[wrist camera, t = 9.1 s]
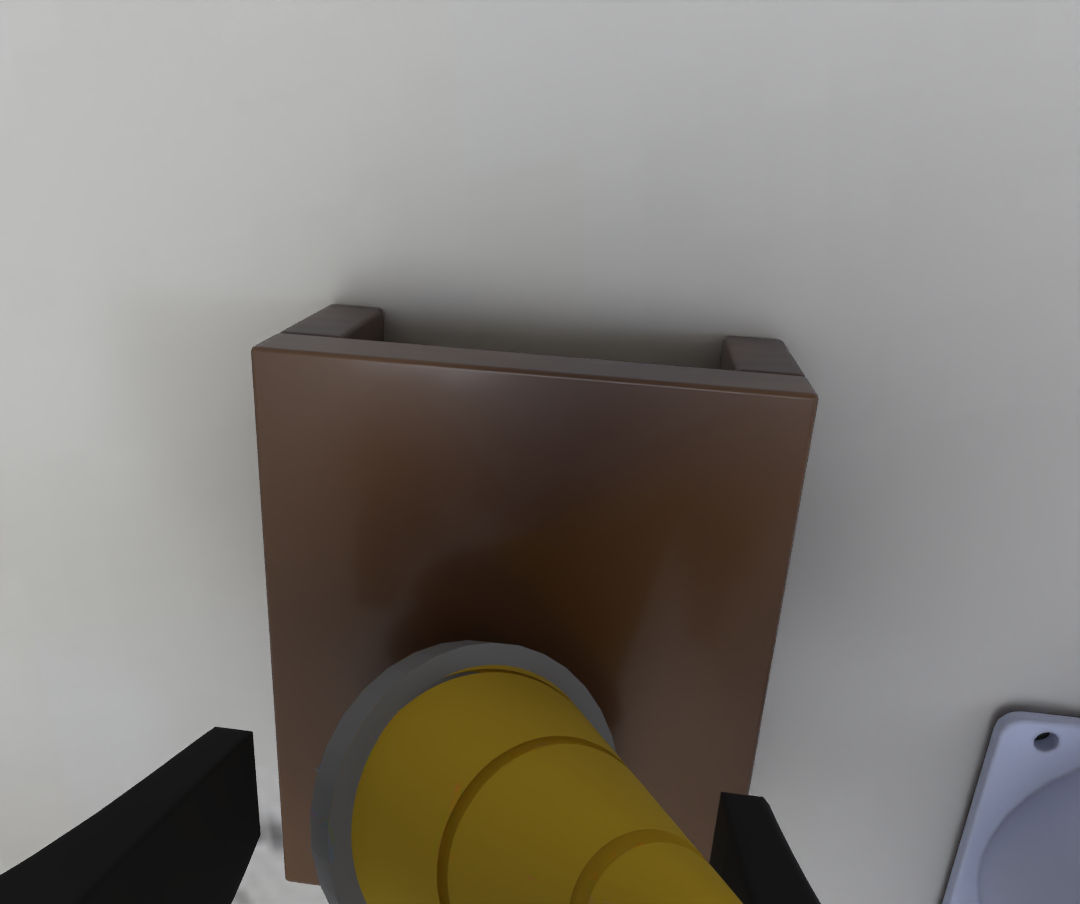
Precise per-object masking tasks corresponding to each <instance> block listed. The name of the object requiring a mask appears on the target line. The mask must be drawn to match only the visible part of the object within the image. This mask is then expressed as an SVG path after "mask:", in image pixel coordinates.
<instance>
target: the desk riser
mask: <svg viewBox="0 0 1080 904" xmlns="http://www.w3.org/2000/svg"><path fill="white" fill-rule="evenodd" d="M251 357H252V373H253V388H254V403H255V419H256V434H257V449H258V465H259V480H260V495H261V511H262V526H263V541H264V557H265V572H266V587H267V603H268V618H269V633H270V649H271V664H272V679H273V695H274V710H275V725H276V741H277V756H278V771H279V787H280V802H281V817H282V833H283V848H284V863H285V878H286V880H287V881H291V882H298V883H305V884H312V885H319V886H321V885H320V883H319V881H318V876H317V872H316V868H315V863H314V859H313V855H312V851H311V830H310V811H311V804H312V797H313V791H314V784H315V778H316V776H317V773H318V771H316V770H315V769H314V768H317V767H320V764H321V761H322V758H323V755H324V752H325V749H326V746H327V744H328V742H329V740H330V738H331V737H332V735H333V733H334V731H335V729H336V727H337V726H338V724H339V722H340V720H341V718H342V716H343V715H344V713H345V712H346V711H347V710H348V708H349V707H350V706H351V705H352V703H353V702H354V701H355V700H356V698H357V697H358V696H359V695H360V693H361V692H362V691H363V690H364V689H365V688H366V687H367V686H368V685H369V684H370V683H371V682H373V681H374V680H375V679H376V678H377V677H378V676H379V675H381V674H382V673H383V672H384V671H385V670H386V669H387V668H389V667H390V666H392V665H394V664H396V663H397V662H399V661H401V660H402V659H404V658H406V657H407V656H409V655H411V654H413V653H414V652H417V651H420V650H423V649H426V648H429V647H432V646H435V645H438V644H441V643H448V642H456V641H465V640H472V641H481V642H491V643H501V644H510V645H519V646H522V647H525V648H528V649H531V650H534V651H537V652H540V653H542V654H545V655H546V656H548V657H550V658H551V659H553V660H554V661H556V662H558V663H559V664H561V665H562V666H564V667H566V668H567V669H568V670H569V671H570V672H571V673H572V674H573V675H574V676H575V677H576V678H577V679H578V680H579V681H580V682H581V683H582V684H583V685H584V686H585V687H586V688H587V690H588V691H589V693H590V694H591V696H592V697H593V699H594V700H595V702H596V703H597V705H598V706H599V708H600V709H601V711H602V714H603V716H604V718H605V721H606V723H607V725H608V728H609V730H610V732H611V734H612V738H613V742H614V746H615V750H616V754H617V755H618V756H619V757H620V759H621V760H622V761H623V762H624V763H625V764H626V766H627V767H628V768H629V769H630V770H631V772H632V773H633V774H634V775H635V776H636V777H637V779H638V780H639V781H640V782H641V783H642V785H643V786H644V787H645V788H646V789H647V790H648V792H649V793H650V794H651V795H652V796H653V798H654V799H655V800H656V801H657V802H658V803H659V805H660V806H661V807H662V808H663V809H664V811H665V812H666V813H667V814H668V815H669V817H670V818H671V819H672V820H673V821H674V822H675V824H676V825H677V826H678V827H679V828H680V830H681V831H682V832H683V833H684V834H685V835H686V837H687V838H688V839H689V840H690V841H691V843H692V844H693V845H694V846H695V847H696V848H697V850H698V851H699V852H700V853H701V854H702V856H703V857H704V858H705V859H706V861H707V862H708V863H709V862H710V856H711V849H712V843H713V837H714V831H715V825H716V819H717V813H718V806H719V800H720V794H721V792H727V793H735V794H743V795H748V794H749V788H750V782H751V777H752V771H753V766H754V760H755V754H756V749H757V743H758V737H759V732H760V726H761V720H762V715H763V709H764V704H765V698H766V692H767V687H768V681H769V675H770V670H771V664H772V658H773V653H774V647H775V641H776V636H777V630H778V625H779V619H780V613H781V608H782V602H783V596H784V591H785V585H786V579H787V574H788V568H789V562H790V557H791V551H792V546H793V540H794V534H795V529H796V523H797V517H798V512H799V506H800V500H801V495H802V489H803V484H804V478H805V472H806V467H807V461H808V455H809V450H810V444H811V438H812V433H813V427H814V421H815V416H816V410H817V405H818V395H817V394H816V392H815V390H814V389H813V387H812V386H811V384H810V383H809V381H808V380H807V378H805V375H804V374H803V372H802V371H801V369H800V368H799V366H798V365H797V363H796V362H795V360H794V358H793V357H792V355H791V354H790V352H789V351H788V349H787V348H786V346H785V345H784V343H783V342H782V341H780V340H773V339H761V338H748V337H736V336H728V337H725V339H724V341H723V349H722V356H721V364H720V369H708V368H696V367H684V366H671V365H659V364H647V363H635V362H623V361H611V360H599V359H587V358H575V357H563V356H551V355H539V354H527V353H515V352H503V351H490V350H478V349H466V348H454V347H442V346H430V345H418V344H406V343H394V342H384V316H383V310H382V309H380V308H371V307H358V306H345V305H330V306H328V307H326V308H324V309H322V310H320V311H319V312H317V313H315V314H313V315H311V316H309V317H307V318H306V319H304V320H302V321H300V322H298V323H296V324H295V325H293V326H291V327H289V328H287V329H285V330H284V331H282V332H280V333H279V334H276V335H274V336H272V337H270V338H269V339H267V340H265V341H263V342H261V343H259V344H257V345H256V346H254V347H252V350H251Z"/></svg>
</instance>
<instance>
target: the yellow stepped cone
mask: <svg viewBox="0 0 1080 904" xmlns="http://www.w3.org/2000/svg"><path fill="white" fill-rule="evenodd" d="M314 769H315V770H316V771H318V773H317V776H316V778H315V784H314V791H313V797H312V804H311V811H310V830H311V851H312V855H313V859H314V863H315V868H316V872H317V876H318V881H319V883H320V885H321V888H322V890H323V892H324V894H325V896H326V898H327V900H328V902H329V904H743V903H742V902H741V901H740V899H739V898H738V897H737V896H736V895H735V893H734V892H733V891H732V890H731V889H730V888H729V886H728V885H727V884H726V883H725V882H724V880H723V879H722V878H721V877H720V876H719V874H718V873H717V872H716V871H715V870H714V869H713V867H712V866H711V865H710V864H709V863H708V862H707V861H706V859H705V858H704V857H703V856H702V854H701V853H700V852H699V851H698V850H697V848H696V847H695V846H694V845H693V844H692V843H691V841H690V840H689V839H688V838H687V837H686V835H685V834H684V833H683V832H682V831H681V830H680V828H679V827H678V826H677V825H676V824H675V822H674V821H673V820H672V819H671V818H670V817H669V815H668V814H667V813H666V812H665V811H664V809H663V808H662V807H661V806H660V805H659V803H658V802H657V801H656V800H655V799H654V798H653V796H652V795H651V794H650V793H649V792H648V790H647V789H646V788H645V787H644V786H643V785H642V783H641V782H640V781H639V780H638V779H637V777H636V776H635V775H634V774H633V773H632V772H631V770H630V769H629V768H628V767H627V766H626V764H625V763H624V762H623V761H622V760H621V759H620V757H619V756H618V755H617V754H616V750H615V746H614V742H613V738H612V734H611V732H610V730H609V728H608V725H607V723H606V721H605V718H604V716H603V714H602V711H601V709H600V708H599V706H598V705H597V703H596V702H595V700H594V699H593V697H592V696H591V694H590V693H589V691H588V690H587V688H586V687H585V686H584V685H583V684H582V683H581V682H580V681H579V680H578V679H577V678H576V677H575V676H574V675H573V674H572V673H571V672H570V671H569V670H568V669H567V668H566V667H564V666H562V665H561V664H559V663H558V662H556V661H554V660H553V659H551V658H550V657H548V656H546V655H545V654H542V653H540V652H537V651H534V650H531V649H528V648H525V647H522V646H519V645H510V644H501V643H491V642H481V641H472V640H465V641H456V642H448V643H441V644H438V645H435V646H432V647H429V648H426V649H423V650H420V651H417V652H414V653H413V654H411V655H409V656H407V657H406V658H404V659H402V660H401V661H399V662H397V663H396V664H394V665H392V666H390V667H389V668H387V669H386V670H385V671H384V672H383V673H382V674H381V675H379V676H378V677H377V678H376V679H375V680H374V681H373V682H371V683H370V684H369V685H368V686H367V687H366V688H365V689H364V690H363V691H362V692H361V693H360V695H359V696H358V697H357V698H356V700H355V701H354V702H353V703H352V705H351V706H350V707H349V708H348V710H347V711H346V712H345V713H344V715H343V716H342V718H341V720H340V722H339V724H338V726H337V727H336V729H335V731H334V733H333V735H332V737H331V738H330V740H329V742H328V744H327V746H326V749H325V752H324V755H323V758H322V761H321V764H320V767H317V768H314Z"/></svg>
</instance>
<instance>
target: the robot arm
mask: <svg viewBox="0 0 1080 904" xmlns="http://www.w3.org/2000/svg"><path fill="white" fill-rule="evenodd" d="M1047 732H1050V734H1049V736H1048V737H1046V738H1045V739H1043V740H1035V738H1036V737H1037V736H1038V735H1040V734H1042V733H1047ZM259 837H260V822H259V809H258V796H257V783H256V770H255V756H254V743H253V732H252V731H244V730H237V729H229V728H221V727H214V728H213V729H211V730H210V731H209V732H207V733H206V734H204V735H203V736H202V737H200V738H199V739H197V740H196V741H195V742H193V743H192V744H191V745H189V746H188V747H187V748H185V749H184V750H183V751H181V752H180V753H178V754H177V755H176V756H174V757H173V758H172V759H170V760H169V761H168V762H166V763H165V764H164V765H162V766H161V767H160V768H158V769H157V770H156V771H154V772H153V773H152V774H150V775H149V776H147V777H146V778H145V779H143V780H142V781H141V782H139V783H138V784H136V785H135V786H134V787H132V788H131V789H129V790H128V791H127V792H125V793H124V794H123V795H121V796H120V797H118V798H117V799H116V800H114V801H113V802H111V803H110V804H109V805H107V806H106V807H104V808H103V809H102V810H100V811H99V812H97V813H96V814H94V815H93V816H91V817H90V818H88V819H87V820H85V821H84V822H82V823H81V824H79V825H78V826H76V827H75V828H73V829H72V830H70V831H69V832H67V833H66V834H64V835H63V836H61V837H60V838H58V839H57V840H55V841H54V842H52V843H51V844H49V845H48V846H46V847H45V848H43V849H42V850H40V851H39V852H37V853H36V854H34V855H33V856H31V857H29V858H28V859H26V860H24V861H23V862H21V863H20V864H18V865H16V866H15V867H13V868H11V869H10V870H8V871H6V872H5V873H3V874H1V875H0V904H231V903H232V901H233V899H234V897H235V894H236V892H237V890H238V887H239V885H240V883H241V881H242V878H243V876H244V874H245V871H246V869H247V866H248V864H249V862H250V859H251V857H252V854H253V852H254V849H255V847H256V844H257V842H258V839H259ZM709 864H710V865H711V866H712V867H713V869H714V870H715V871H716V872H717V873H718V874H719V876H720V877H721V878H722V879H723V880H724V882H725V883H726V884H727V885H728V886H729V888H730V889H731V890H732V891H733V892H734V893H735V895H736V896H737V897H738V898H739V899H740V901H741V902H742V903H743V904H821V903H820V902H819V900H818V898H817V897H816V895H815V893H814V891H813V890H812V888H811V886H810V884H809V882H808V881H807V879H806V877H805V875H804V873H803V872H802V870H801V868H800V866H799V864H798V862H797V860H796V858H795V857H794V855H793V853H792V851H791V849H790V847H789V845H788V843H787V841H786V839H785V837H784V835H783V833H782V831H781V829H780V827H779V825H778V823H777V821H776V819H775V816H774V814H773V812H772V810H771V808H770V805H769V804H768V803H767V801H766V800H765V799H764V798H763V797H758V796H750V795H743V794H735V793H727V792H721V794H720V800H719V806H718V813H717V819H716V825H715V831H714V837H713V843H712V849H711V856H710V862H709ZM942 904H1080V718H1077V717H1068V716H1059V715H1051V714H1042V713H1033V712H1024V711H1017V712H1011V713H1008V714H1005V715H1004V716H1002V717H1001V718H1000V719H999V720H998V721H997V723H996V724H995V726H994V729H993V732H992V736H991V739H990V743H989V746H988V749H987V753H986V756H985V760H984V763H983V766H982V770H981V773H980V777H979V780H978V783H977V787H976V790H975V794H974V797H973V800H972V804H971V807H970V811H969V814H968V817H967V821H966V824H965V828H964V831H963V834H962V838H961V841H960V844H959V848H958V851H957V855H956V858H955V861H954V865H953V868H952V872H951V875H950V878H949V882H948V885H947V889H946V892H945V895H944V899H943V902H942Z"/></svg>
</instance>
